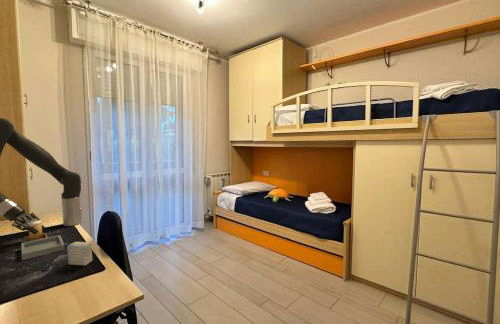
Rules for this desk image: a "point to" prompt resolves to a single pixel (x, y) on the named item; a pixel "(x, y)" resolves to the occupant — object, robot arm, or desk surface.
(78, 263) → the medicine box
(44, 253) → the tray
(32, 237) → the pill bottle
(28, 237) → the holder
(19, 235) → the desk surface
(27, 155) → the robot arm
